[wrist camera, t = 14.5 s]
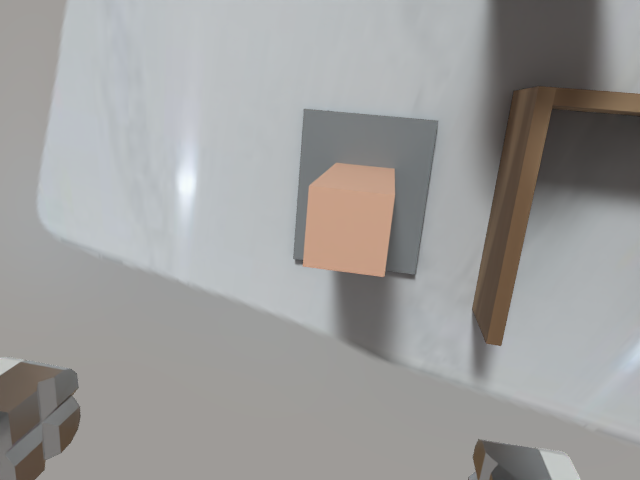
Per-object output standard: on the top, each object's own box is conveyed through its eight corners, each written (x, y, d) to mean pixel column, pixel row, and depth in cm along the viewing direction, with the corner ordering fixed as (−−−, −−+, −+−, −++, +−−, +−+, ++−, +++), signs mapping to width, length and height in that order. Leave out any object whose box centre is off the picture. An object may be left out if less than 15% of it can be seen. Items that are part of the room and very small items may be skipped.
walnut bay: (760, 110, 31) (843, 109, 25) (684, 337, 36) (739, 380, 30) (513, 91, 33) (538, 86, 27) (472, 308, 38) (486, 343, 32)
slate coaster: (437, 120, 34) (438, 120, 34) (414, 272, 38) (414, 274, 37) (305, 109, 36) (304, 108, 35) (294, 256, 39) (293, 258, 38)
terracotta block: (394, 168, 35) (395, 194, 24) (387, 225, 36) (384, 277, 25) (336, 162, 36) (309, 185, 24) (330, 219, 37) (302, 266, 25)
